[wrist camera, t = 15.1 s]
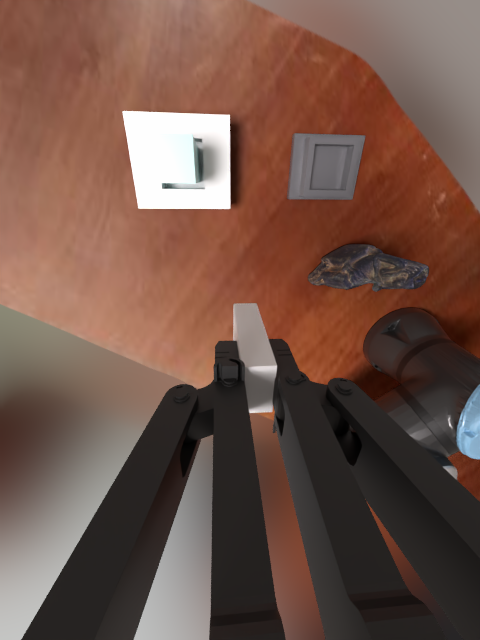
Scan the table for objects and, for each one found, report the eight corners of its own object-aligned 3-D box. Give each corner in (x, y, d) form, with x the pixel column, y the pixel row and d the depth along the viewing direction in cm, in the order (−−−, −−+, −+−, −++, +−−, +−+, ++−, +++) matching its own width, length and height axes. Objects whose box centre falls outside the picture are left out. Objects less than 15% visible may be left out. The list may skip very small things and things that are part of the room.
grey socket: (361, 136, 36) (373, 133, 33) (349, 199, 40) (358, 200, 37) (292, 134, 35) (299, 130, 32) (286, 198, 39) (292, 200, 36)
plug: (198, 148, 34) (192, 134, 24) (200, 182, 36) (195, 183, 25) (167, 147, 34) (148, 133, 23) (171, 181, 36) (154, 182, 25)
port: (227, 123, 34) (229, 114, 29) (228, 205, 39) (230, 208, 34) (134, 120, 33) (122, 110, 28) (147, 205, 38) (138, 208, 33)
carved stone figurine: (299, 265, 44) (336, 301, 31) (364, 229, 42) (433, 252, 29) (311, 290, 47) (349, 333, 34) (372, 258, 45) (438, 290, 32)
